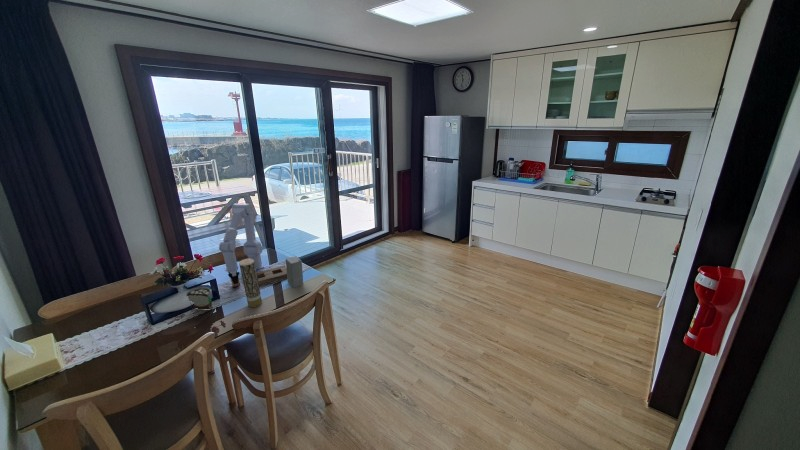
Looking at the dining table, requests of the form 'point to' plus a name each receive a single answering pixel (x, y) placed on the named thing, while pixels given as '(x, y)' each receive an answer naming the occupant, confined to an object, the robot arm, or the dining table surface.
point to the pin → (235, 284)
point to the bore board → (272, 275)
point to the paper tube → (250, 282)
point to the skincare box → (294, 271)
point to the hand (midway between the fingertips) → (235, 281)
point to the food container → (200, 298)
